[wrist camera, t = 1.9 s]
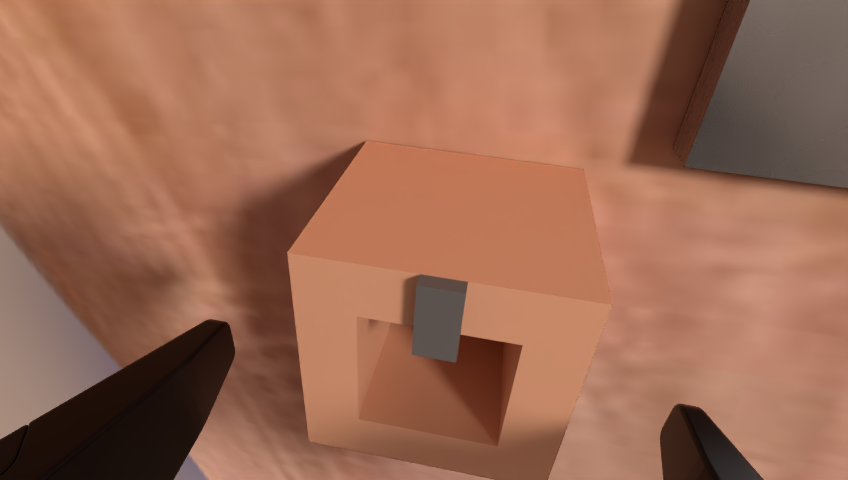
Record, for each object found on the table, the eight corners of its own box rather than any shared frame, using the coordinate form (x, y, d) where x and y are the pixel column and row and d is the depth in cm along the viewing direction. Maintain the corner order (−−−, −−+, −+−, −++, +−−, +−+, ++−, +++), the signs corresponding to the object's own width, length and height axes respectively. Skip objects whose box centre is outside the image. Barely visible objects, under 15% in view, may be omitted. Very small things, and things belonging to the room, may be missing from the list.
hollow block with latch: (539, 330, 15) (544, 503, 11) (367, 301, 16) (304, 452, 11) (583, 169, 12) (615, 317, 8) (366, 140, 12) (279, 262, 8)
